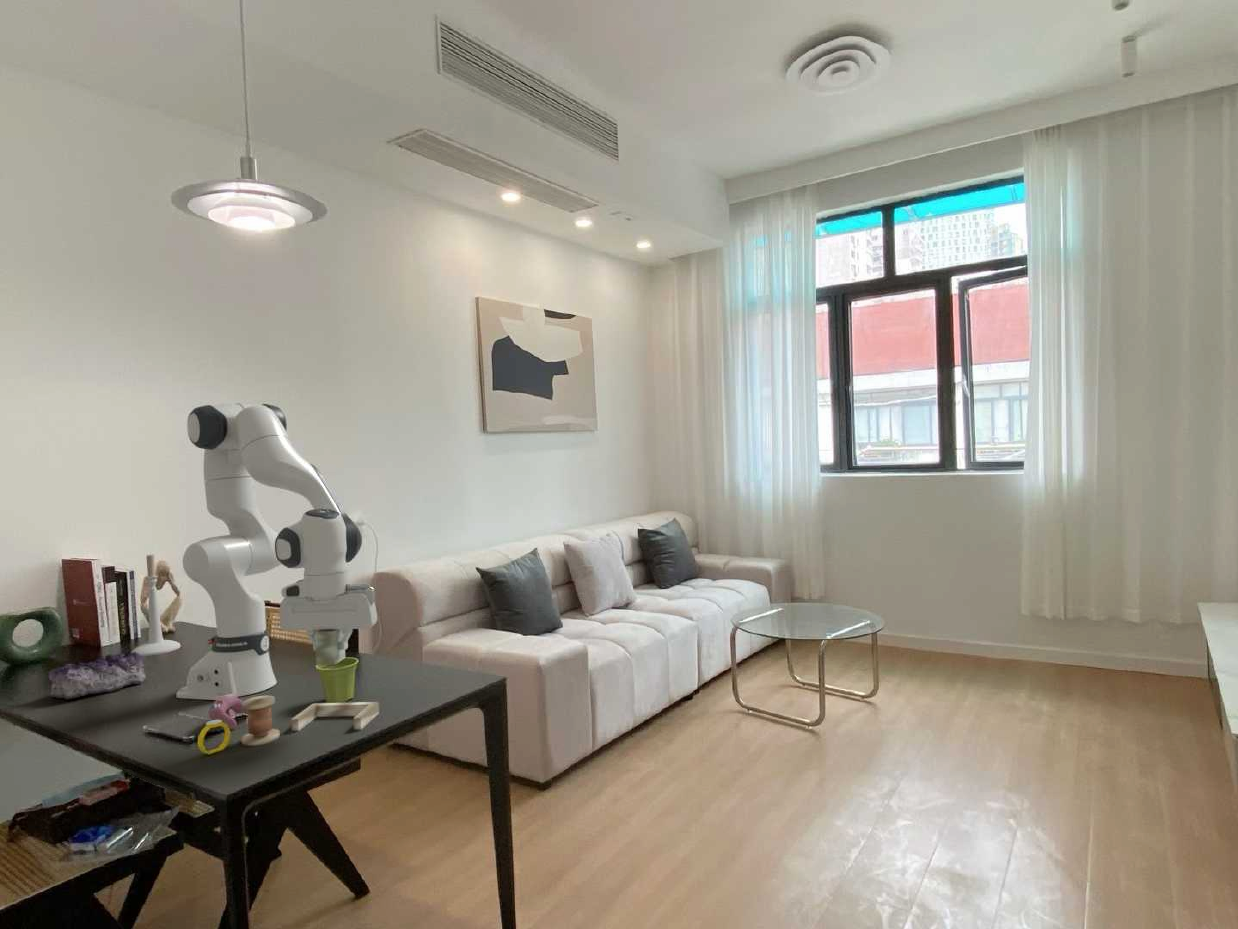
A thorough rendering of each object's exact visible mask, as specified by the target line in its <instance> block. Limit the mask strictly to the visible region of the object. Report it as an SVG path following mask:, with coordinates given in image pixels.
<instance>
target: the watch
mask: <svg viewBox="0 0 1238 929" xmlns="http://www.w3.org/2000/svg"><path fill="white" fill-rule="evenodd" d="M220 725H222V726H223V727H222V726H220ZM217 727H222V728H223V730H224V739H223V741H222V743H221V744H220V745H219V747H216V748H214V749H213V748H212V749H210V750H206V748H205V746H204V741H205V736H206V734H207V732H208V731H209V730H211V729H213V728H217ZM230 740H231V730H230V728H229V727H228V725H226V724H224V723H222V720H209V721H207V722H205V726H204V727H203V728H202V729H201V731H200V733H199V735H198V737H197V747H198V750H199V751H201V752H202V754H206V755H212V754H215V753H218V752H220V751H223V750H225V748H226V747H227V746H228V744H229V743H230Z"/></svg>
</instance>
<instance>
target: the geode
mask: <svg viewBox="0 0 1238 929" xmlns="http://www.w3.org/2000/svg"><path fill="white" fill-rule="evenodd" d="M145 668H146V666H145V664H144V663H143V656H140V655H139V654H137V653H136V652H134V653H132V651H130V653H128V654H123V653H120V654H119V656H117V655H111V654H107V655H106V656H105V659H104V658H103V657H99V658H97V659H96V660H94V661H91V662H89V663H86V662H85V663H84V662H80V661H77V663H76V664H74V663H68V664H67V663H66V664H65V665H64V666H62V667H56V668H53V669H51V670H50V671H49V672H48V679H49V680H50V681H51V683H52V684H51V686H50V687H51V688H50V697H51V698H60V699H65V700H71V699H75V698H79V697H81V696H89V695H92V694H102V693H112V692H117V691H119V690H121V689H122V688H124V687H127V686H130V685H142V684H143V683H146V680H147V679H146V677H147V676H146V673H145Z"/></svg>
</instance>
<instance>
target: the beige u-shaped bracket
mask: <svg viewBox="0 0 1238 929" xmlns="http://www.w3.org/2000/svg"><path fill="white" fill-rule="evenodd" d="M379 714H380V704H379V701H362V702H359V701H358V702H357V701H355V702H351V701H350V702H341V703H332V702H330V703H327V702H313V703H312V704H310V705H309V706H307V707H306V708H305V709H303V710H302V711H301V712H299V713H298V714H296V715H295V716H294V717H293V718H291V721H290V722H291V731H292V732H300V731H301V730H303V729H304V728H305V727H306V726H307V725H308V724H310V723H312V722H313V720H315V719H316V718H318V717H319V718H321V717H322V718H323V717H324V718H326V717H353V729H354V731H355V730H356V731H358V730H359V731H361V730H363V729H364V728H365V727H366V726H367V725H368V724H369V723H370V722H371V721H372V720H373V719H374V718H376V717H377V716H378V715H379Z"/></svg>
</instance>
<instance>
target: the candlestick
mask: <svg viewBox="0 0 1238 929" xmlns="http://www.w3.org/2000/svg"><path fill="white" fill-rule="evenodd" d="M155 563H156V562H155V554H147V555H146V569H147V576H145V577H144V578H145V579H146V583H147V584H148V586H149V587H148V641H147V642H144V643H143V644H140V645H138V646H137V647H135V648H134V649H132V650H131V652H132V653H134V652H136V653H137V654H139V655H140V656H141V657H148V656H157V655H161V654H167V653H170V652H174V651H175V650H178V649H179V648H181V643H180V642H178V641H175V640H172V639H164V638H163V632H162V624H161V616H160V607H159V601H158V593H157V591H158V590H157V587H156V584H157V582H158V580H157V579H158V577H159V575H156V567H155V566H156V565H155Z"/></svg>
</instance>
